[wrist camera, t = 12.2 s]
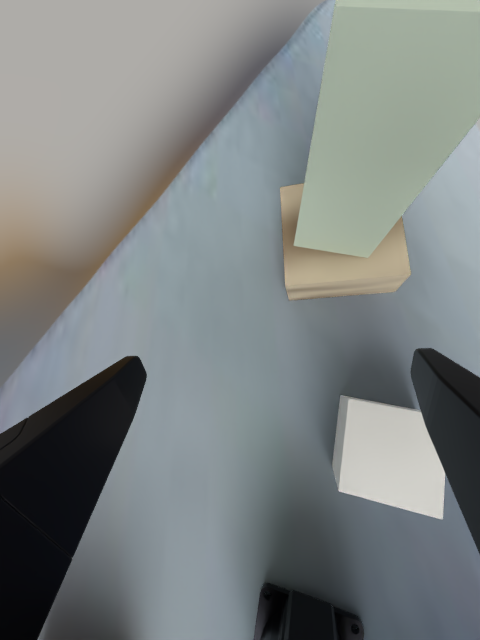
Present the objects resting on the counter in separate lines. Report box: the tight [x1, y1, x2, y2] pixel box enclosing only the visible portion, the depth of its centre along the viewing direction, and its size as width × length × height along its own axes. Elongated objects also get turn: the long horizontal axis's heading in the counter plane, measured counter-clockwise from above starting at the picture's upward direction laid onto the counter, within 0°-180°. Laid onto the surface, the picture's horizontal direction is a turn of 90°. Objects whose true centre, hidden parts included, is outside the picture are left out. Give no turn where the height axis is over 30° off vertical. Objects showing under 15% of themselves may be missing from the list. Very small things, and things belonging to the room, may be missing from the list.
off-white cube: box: [332, 395, 445, 520], centre depth 18 cm, size 5×5×5 cm
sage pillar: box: [294, 0, 480, 258], centre depth 14 cm, size 5×5×13 cm
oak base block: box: [280, 183, 411, 300], centre depth 22 cm, size 8×8×4 cm
